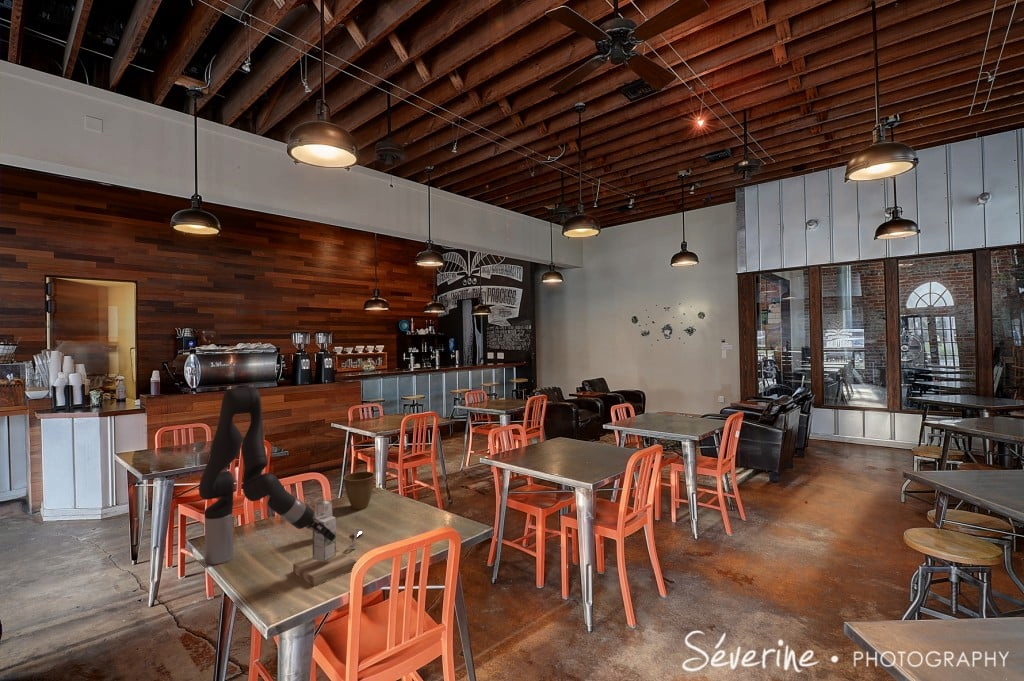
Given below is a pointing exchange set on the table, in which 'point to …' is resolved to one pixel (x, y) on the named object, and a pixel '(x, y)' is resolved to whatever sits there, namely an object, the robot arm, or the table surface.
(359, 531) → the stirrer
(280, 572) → the table surface
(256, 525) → the table surface
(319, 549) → the syrup box
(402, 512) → the table surface
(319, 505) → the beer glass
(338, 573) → the maple board
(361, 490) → the plant pot
